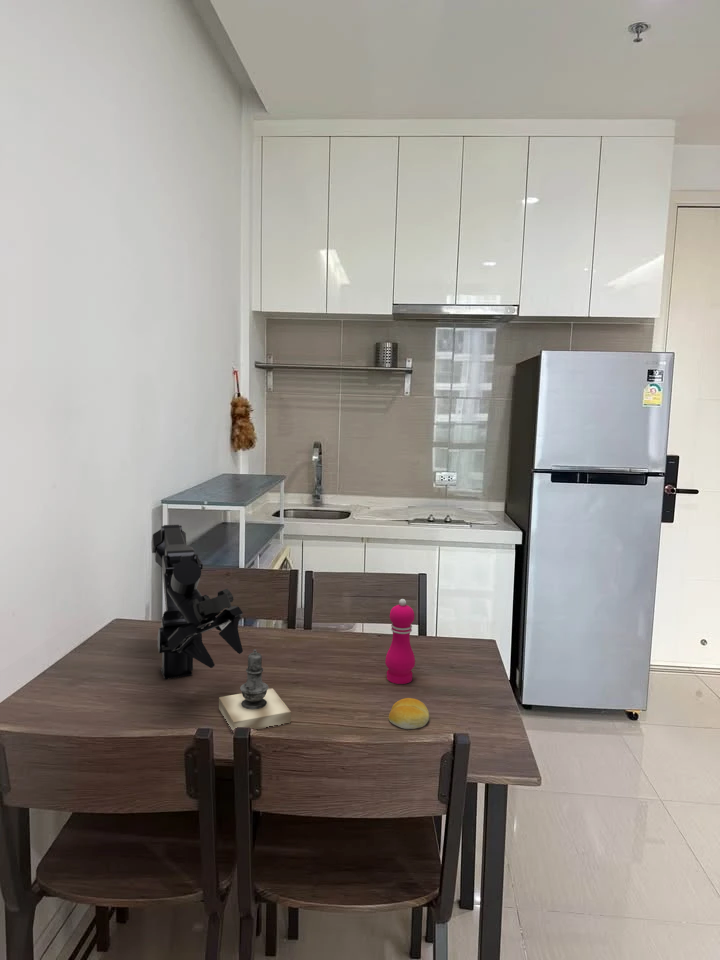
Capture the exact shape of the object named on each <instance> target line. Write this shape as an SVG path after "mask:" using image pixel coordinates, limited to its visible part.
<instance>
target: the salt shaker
mask: <svg viewBox="0 0 720 960" xmlns="http://www.w3.org/2000/svg"><path fill="white" fill-rule="evenodd" d="M252 650H253V652H251V653H249V654H248V655H247V668H246V669H245V672H246V676H247V679H246V682H244V683H243V684H242V685H240V687H239V689H240V691H241V693H242V695H243V697H244V698H245V700H244V701H242V703H241V705H242V707H244V708H246V709H260V708H263V707H265V706H266V704H267V701H266V700H264V699H263V698H264V697H265V695H266V693H267V690H268V689H269V685H268V684H267V683H265V682H263V679H262V677H263V672H264V668H263V667H262V665H263V664H262V661H263V660H262V654H261V653H259V652H257V649H256V648H254V649H252Z"/></svg>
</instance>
